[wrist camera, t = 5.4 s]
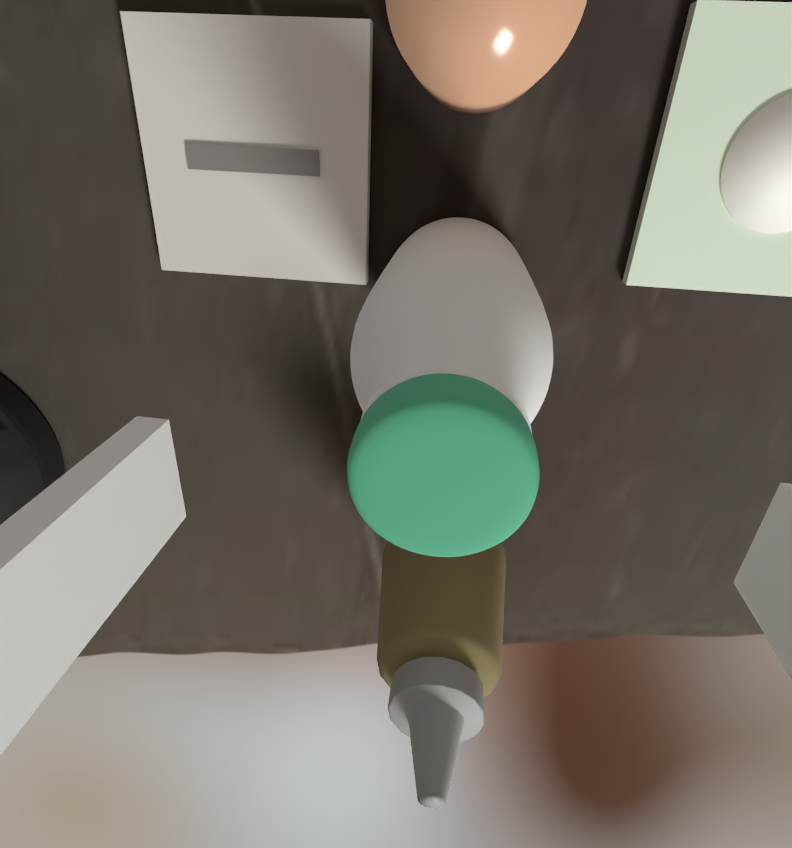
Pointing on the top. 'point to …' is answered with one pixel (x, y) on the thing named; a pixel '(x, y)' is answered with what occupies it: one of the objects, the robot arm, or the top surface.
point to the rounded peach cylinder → (481, 46)
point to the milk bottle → (449, 392)
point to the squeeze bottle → (440, 653)
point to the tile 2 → (722, 158)
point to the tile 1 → (256, 141)
